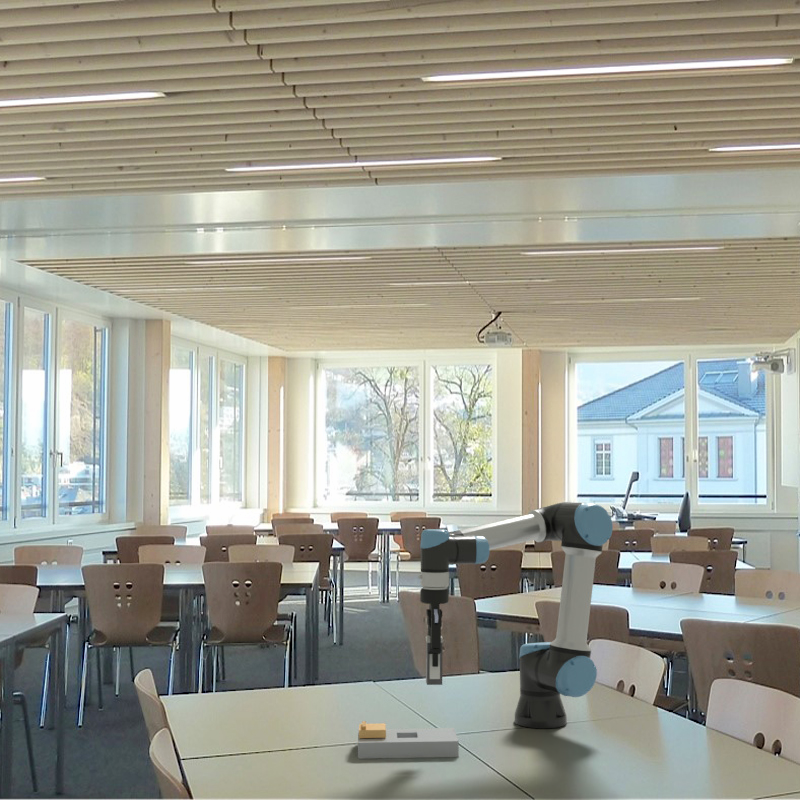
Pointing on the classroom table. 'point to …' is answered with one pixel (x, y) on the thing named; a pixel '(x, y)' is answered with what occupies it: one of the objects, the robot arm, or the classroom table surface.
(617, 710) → the classroom table surface
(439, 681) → the plug
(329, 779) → the classroom table surface
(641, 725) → the classroom table surface
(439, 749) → the socket board
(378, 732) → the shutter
